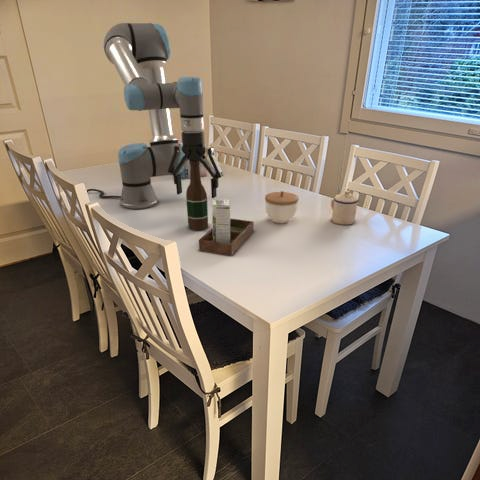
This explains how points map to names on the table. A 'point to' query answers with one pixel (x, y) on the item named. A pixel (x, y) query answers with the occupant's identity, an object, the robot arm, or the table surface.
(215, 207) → the syrup box
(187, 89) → the robot arm
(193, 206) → the beer bottle
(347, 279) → the table surface
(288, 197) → the lidded bowl
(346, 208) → the teacup with lid
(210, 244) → the tray
